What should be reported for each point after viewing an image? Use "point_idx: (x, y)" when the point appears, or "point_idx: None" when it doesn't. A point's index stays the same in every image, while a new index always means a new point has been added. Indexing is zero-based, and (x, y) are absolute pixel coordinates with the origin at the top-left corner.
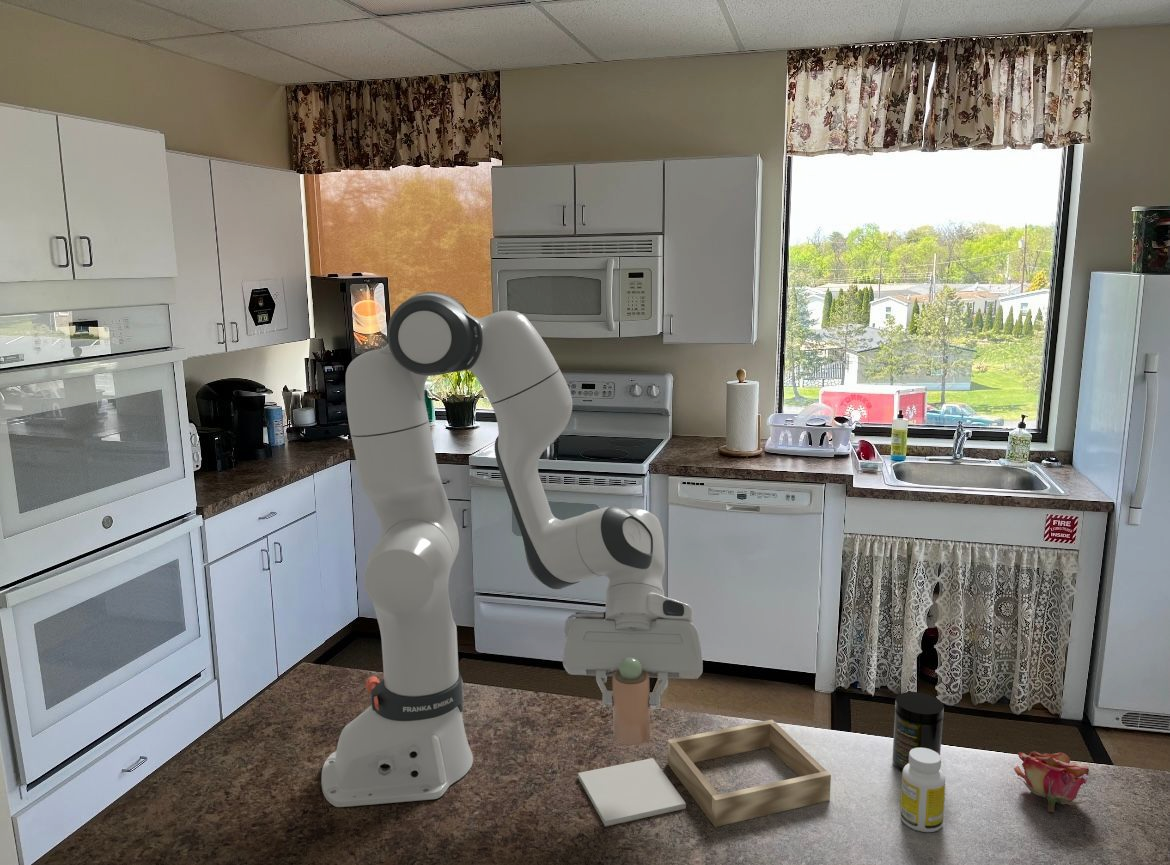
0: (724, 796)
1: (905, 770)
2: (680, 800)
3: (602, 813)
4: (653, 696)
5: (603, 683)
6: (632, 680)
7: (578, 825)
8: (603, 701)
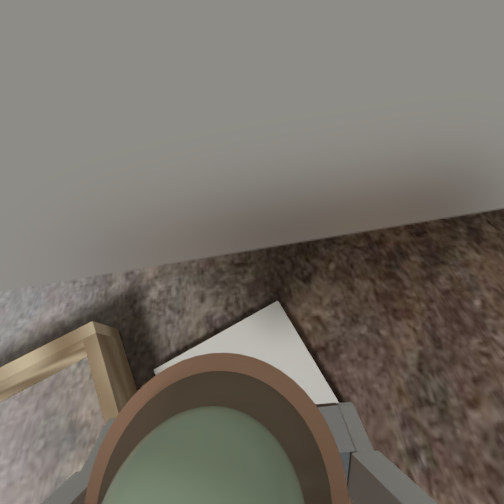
0: (73, 334)
1: None
2: None
3: (285, 318)
4: None
5: (390, 488)
6: (197, 397)
7: (315, 298)
8: (346, 402)
